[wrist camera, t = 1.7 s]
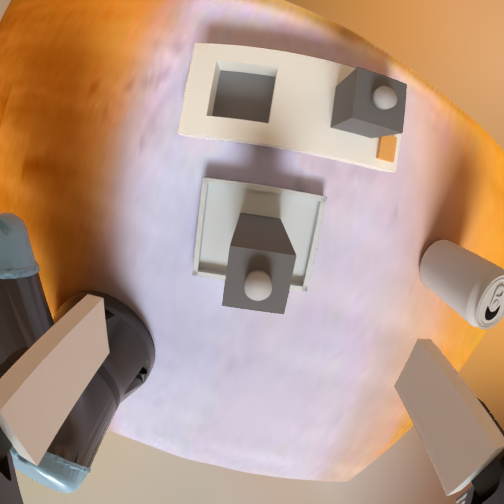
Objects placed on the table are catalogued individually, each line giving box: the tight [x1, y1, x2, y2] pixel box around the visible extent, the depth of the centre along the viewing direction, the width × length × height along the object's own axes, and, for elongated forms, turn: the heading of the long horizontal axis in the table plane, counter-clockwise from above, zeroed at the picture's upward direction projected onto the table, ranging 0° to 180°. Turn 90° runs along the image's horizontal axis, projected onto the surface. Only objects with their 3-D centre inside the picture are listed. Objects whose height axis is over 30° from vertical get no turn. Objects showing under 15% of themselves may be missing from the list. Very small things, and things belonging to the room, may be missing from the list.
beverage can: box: [420, 240, 504, 330], centre depth 25 cm, size 6×6×12 cm
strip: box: [178, 43, 407, 172], centre depth 21 cm, size 20×9×11 cm, turn 81°
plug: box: [222, 213, 296, 314], centre depth 23 cm, size 4×4×13 cm
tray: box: [193, 177, 327, 292], centre depth 29 cm, size 12×10×2 cm
